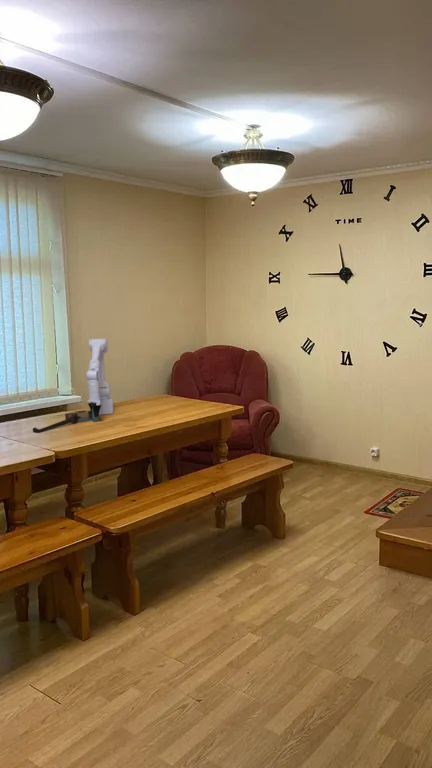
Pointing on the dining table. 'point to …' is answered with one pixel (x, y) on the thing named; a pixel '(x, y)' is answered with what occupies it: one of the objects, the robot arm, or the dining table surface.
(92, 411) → the pin
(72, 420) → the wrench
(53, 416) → the dining table surface
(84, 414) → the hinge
